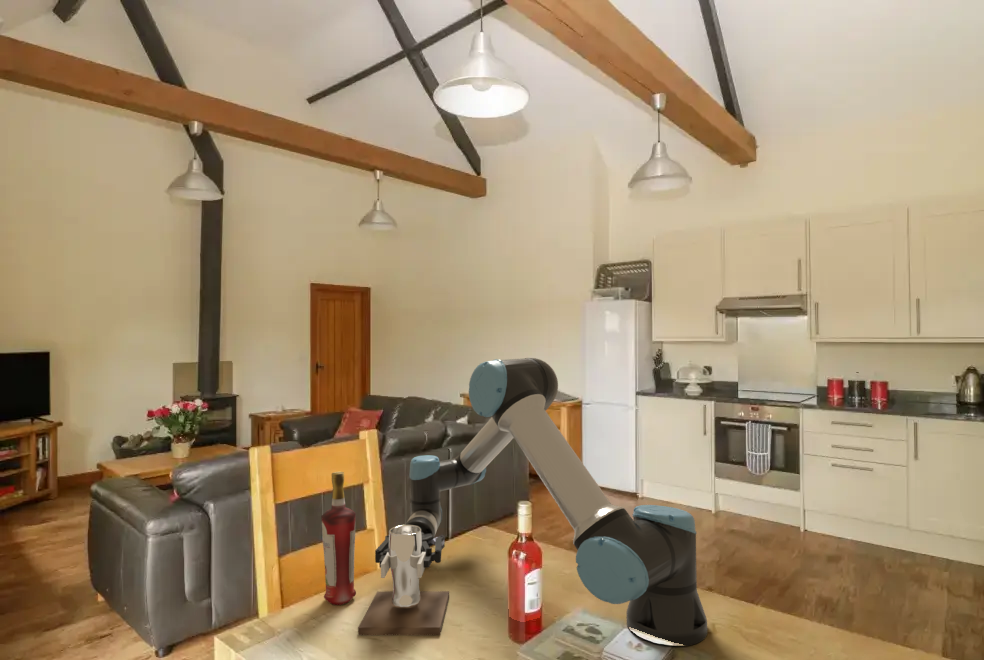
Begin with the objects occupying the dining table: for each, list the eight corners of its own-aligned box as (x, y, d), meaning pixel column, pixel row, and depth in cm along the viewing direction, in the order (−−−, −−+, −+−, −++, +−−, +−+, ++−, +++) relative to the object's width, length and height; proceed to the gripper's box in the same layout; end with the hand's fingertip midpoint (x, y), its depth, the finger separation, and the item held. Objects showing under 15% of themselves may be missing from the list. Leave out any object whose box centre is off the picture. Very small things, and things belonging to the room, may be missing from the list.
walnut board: (449, 598, 130) (449, 591, 130) (440, 635, 114) (440, 627, 114) (377, 598, 131) (377, 591, 131) (358, 635, 115) (358, 627, 115)
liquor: (319, 597, 132) (317, 471, 132) (352, 590, 135) (350, 467, 135) (327, 611, 125) (324, 478, 125) (361, 603, 129) (358, 474, 129)
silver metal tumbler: (417, 611, 118) (415, 536, 118) (384, 608, 120) (383, 534, 120) (427, 595, 125) (426, 525, 125) (396, 593, 127) (395, 523, 127)
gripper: (460, 547, 140) (450, 589, 117) (378, 547, 141) (352, 590, 118) (460, 515, 140) (449, 551, 117) (378, 516, 141) (351, 552, 118)
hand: (400, 570), depth 118 cm, fingers closed on silver metal tumbler, 7 cm apart
